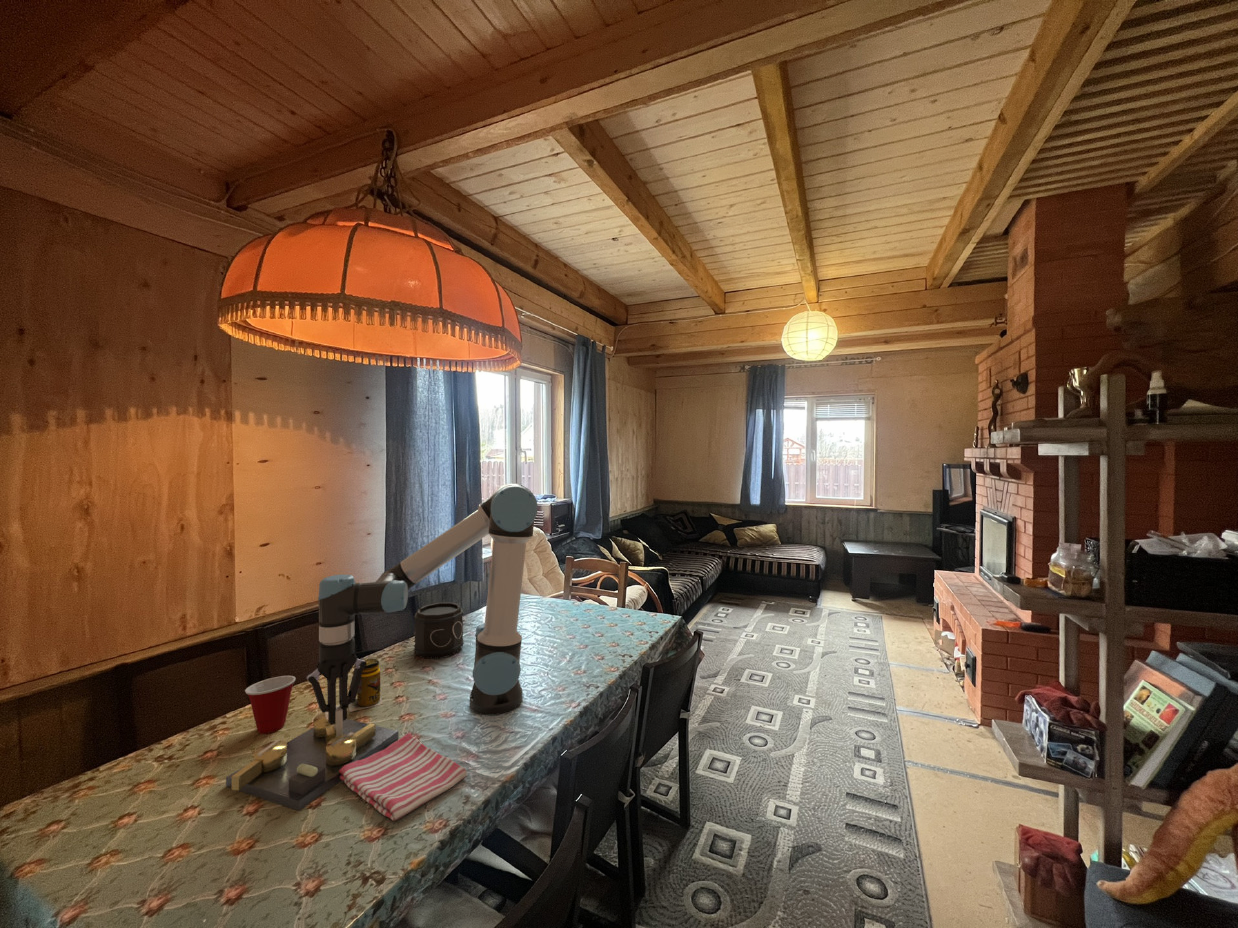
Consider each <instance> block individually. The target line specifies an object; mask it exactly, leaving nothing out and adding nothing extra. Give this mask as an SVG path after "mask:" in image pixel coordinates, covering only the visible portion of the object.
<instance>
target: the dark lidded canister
mask: <svg viewBox="0 0 1238 928" xmlns="http://www.w3.org/2000/svg"><path fill="white" fill-rule="evenodd" d="M463 616H464V610H463V607H461V605H460V604H459V603H456V602H455V603H454V602H436V603H431V604H430V603H429V604H425V605H424V606H422V607H419V608H418V609H417V611H416V612H415V614H414V619H413V621H414V622H415V623H414V647H413V648H414V649H413V650H414V653H416V655H417V657H420V658H423V659H425V660H426V659H427V660H428V659H430V660H433V659H442V658H447V657H450V656H453V655H455V654H457V653H458V652H459V651H460V649H462V647H463V646H464V642H465V641H464V621H463V619H464V618H463ZM446 656H447V657H446Z"/></svg>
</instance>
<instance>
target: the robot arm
mask: <svg viewBox="0 0 1238 928" xmlns="http://www.w3.org/2000/svg"><path fill="white" fill-rule="evenodd" d="M538 507H539V506H538V501H537V499H536V496H535V495H534V493H533V492H532V491H531V490H530V489H529V488H528V487H526V486H524V485H522V484H519V483H514V482H513V483H506V484H503V485H502V486H500V487H499V488H498V489H496V491H495V492H493V493H492V495H490V496H489V497H488V498H487V499H485V500H484V501H483V502H481V503H479V504H478V508H477V510H476V511H474V512H473V513H471V514H469V515H468V516H466V517H465V518H464V519H462V520H461V521H459V522H458V523H456V524H455V525H453V526H452V527H451V528H449V529H447V530H445V532H443V533H442V534H440V535H439V536H437V537H436V538H434V539H433V540H431V541H430V542H428V543H427V544H425V545H424V546H422V547H421V548H419V549H418V550H416V551H414V552H413V553H412V554H410V555H409V556H408V557H406V558H405V559H403V560H401V561H400V562H398V564H396V565H394V566H393V567H391V568H389V569H387V570H385V571H384V572H383V573H382V574H381V575H380V576H379V577H378V578H377V580H376V581H374V582H371V581H370V582H356V581H355V576H354V575H351V574H345V573H343V574H334V575H331V576H327V577H324V578H323V579H321V580H320V582H319V584H318V585H319V586H318V597H317V600H318V641H319V642H320V643H319V644H318V663H317V665H316V669H315V670H314V671H313V672H312V673H308V674H307V675H306V676H305V678H306V679H307V682H309V683H310V684H311V687H312V689H313V693H314V696H315V698H316V699H315V700H316V702H317V705H318V708H319V710H320V711H321V713H325V712H328V722H329V723H330V725H333V727H334V730H335V737H338V736H341V735H343V721H344V720H346V719H348V709H349V704H350V703H354V702H355V700H356V699H357V692H358V688H359V684H360V680H361V675H362V671H363V670H364V668H365V666H366V665H367V663H366V661H364V660H365V659H363V658H360V659H359V658H358V656H357V655H356V653H355V652H356V651H355V650H356V643H355V642H356V640H355V634H356V633H355V628H356V626H355V623H356V622H355V617H356V616H355V615H366V614H369V615H370V614H379V613H381V614H382V613H393V612H399V611H400V612H401V611H403V610H404V609H405V608H406V607H407V604H408V596H409V590H410V589H411V588H413V587H414V586H415V585H418V583H419V582H421V581H422V580H424V579H425V578H427V577H428V576H429V575H431V574H433V573H434V572H435V571H438V570H439V569H440V568H441V567H443V566H444V565H445V564H447V563H448V562H450V561H451V560H453V559H454V558H456V557H458V556H459V555H460V554H462V553H463V552H464V551H466V550H467V549H469V548H471V547H472V546H473V545H475V544H476V543H478V542H479V541H481V540H482V539H484V538H485V537H487V535H488V536H489V537H491V539H492V540H493V543H492V552H491V560H490V561H491V562H490V570H489V581H488V592H487V597H486V598H487V599H486V605H485V606H486V608H485V617H484V623H481V624H479V625H477V626H476V628H475V634H474V636H475V653H474V661H473V663H474V664H473V670H472V678H473V685H472V688H471V692H470V693H469V694H470V695H469V709H470V710H471V711H472V712H474V713H476V714H479V715H485V716H487V715H488V716H493V715H495V716H496V715H500V714H504V713H507V712H510V711H512V710H514V709H516V708H517V707H519V706H520V704H522V702H523V699H524V698H523V694H524V693H523V688H522V685H521V683H520V680H519V679H520V675H521V672H522V671H521V669H522V668H521V664H520V663H521V662H520V661H521V660H520V659H521V649H522V639H523V636H522V634H521V633H520V632H519V631H518V623H519V614H520V613H519V612H520V605H521V595H522V585H523V578H524V577H523V576H524V575H523V574H524V568H525V567H524V566H525V559H526V557H525V556H526V547H527V542H528V541H529V540H530V539H532V538H533V535H534V526H535V521H536V518H537V515H538V510H539V509H538ZM353 667H354V669H352V668H353ZM351 670H353V672H352V677H351V681H350V686H349V689H348V680H349V673H350V671H351ZM320 675H322V676H323V677H324V678H325V679H326V682H327V684H326V685H327V703H326V700H325V696H324V692H323V691H322V688H321V684H320V683H319V680H320V678H321V677H320ZM337 679H338V702H339V703H338V705H337Z"/></svg>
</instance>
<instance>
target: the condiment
mask: <svg viewBox="0 0 1238 928" xmlns="http://www.w3.org/2000/svg"><path fill="white" fill-rule="evenodd" d="M363 660H364V661H366V663H367V665H366V666H365V668H364V670H363V671H362V675H361V680H360V684H359V688H358V692H357V696H356V700H355V702H354V703H350V704H349V705H348V709H349V711H348V712H349V713H352V712H356V711H360V710H364V709H368V708H372V707H378V706H380V705H383V704H384V702H383V700H382V695H381V668H380V661H379V659H377V658H367V659H363Z"/></svg>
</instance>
